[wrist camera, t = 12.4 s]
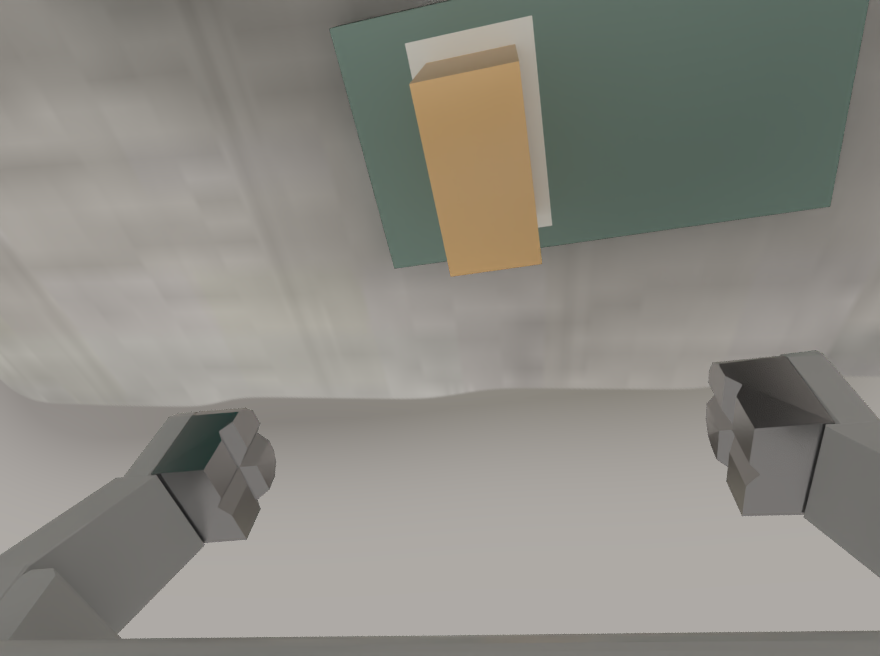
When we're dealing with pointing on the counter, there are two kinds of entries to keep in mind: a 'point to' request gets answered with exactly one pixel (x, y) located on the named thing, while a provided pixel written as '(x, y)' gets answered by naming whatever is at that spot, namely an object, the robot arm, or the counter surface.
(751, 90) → the board
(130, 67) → the counter surface
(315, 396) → the counter surface
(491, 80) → the block
